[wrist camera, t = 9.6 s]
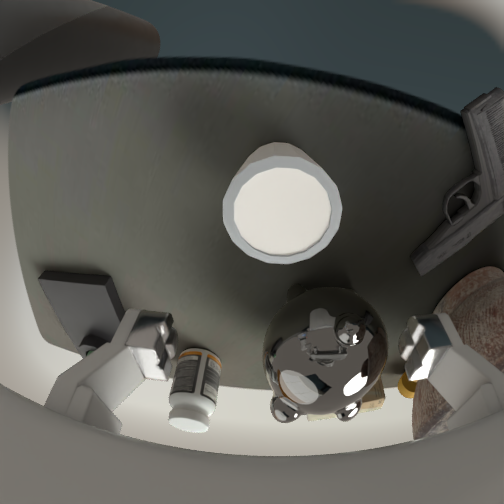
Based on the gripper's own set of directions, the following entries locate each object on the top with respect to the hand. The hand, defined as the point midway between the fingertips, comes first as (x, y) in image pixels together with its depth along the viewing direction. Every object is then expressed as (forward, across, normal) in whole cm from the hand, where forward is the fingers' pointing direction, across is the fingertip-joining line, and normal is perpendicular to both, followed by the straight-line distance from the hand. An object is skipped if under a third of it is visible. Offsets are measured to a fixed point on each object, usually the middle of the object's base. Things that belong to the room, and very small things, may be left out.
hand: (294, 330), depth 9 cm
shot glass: (+15, 0, 0) cm, 15 cm away
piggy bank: (+15, -4, +14) cm, 21 cm away
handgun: (+14, -13, -6) cm, 20 cm away
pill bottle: (+15, +9, +24) cm, 30 cm away
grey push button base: (+15, +23, +17) cm, 33 cm away
